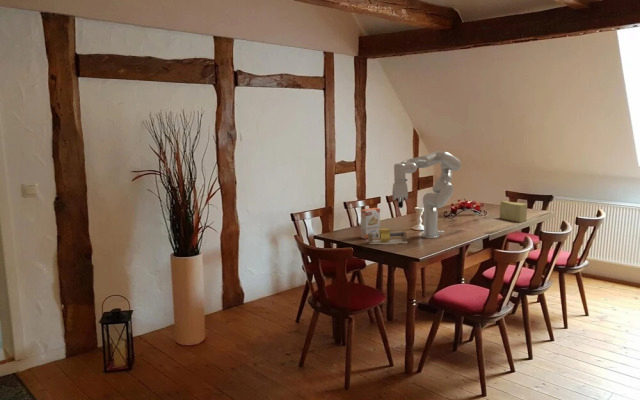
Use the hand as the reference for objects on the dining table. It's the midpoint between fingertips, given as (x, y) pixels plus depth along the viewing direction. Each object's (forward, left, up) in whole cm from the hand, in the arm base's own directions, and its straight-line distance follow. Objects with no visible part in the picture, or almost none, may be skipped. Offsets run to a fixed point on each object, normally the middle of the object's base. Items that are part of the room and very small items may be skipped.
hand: (400, 207), depth 336 cm
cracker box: (+18, -15, -24) cm, 34 cm away
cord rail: (+10, +3, -24) cm, 26 cm away
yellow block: (+12, +3, -22) cm, 25 cm away
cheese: (-108, -52, -24) cm, 123 cm away
